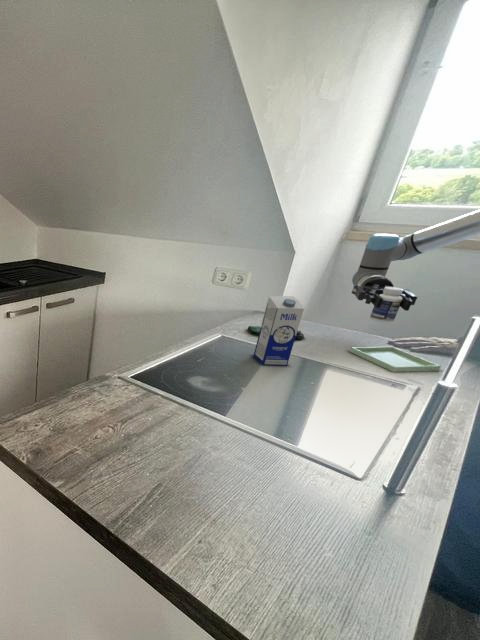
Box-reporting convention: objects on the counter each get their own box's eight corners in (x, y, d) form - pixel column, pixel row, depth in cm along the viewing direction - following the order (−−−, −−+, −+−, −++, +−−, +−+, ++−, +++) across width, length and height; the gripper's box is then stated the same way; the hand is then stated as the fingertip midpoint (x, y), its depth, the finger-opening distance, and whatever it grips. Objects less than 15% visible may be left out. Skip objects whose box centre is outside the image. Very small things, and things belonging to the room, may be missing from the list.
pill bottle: (387, 324, 114) (400, 291, 110) (365, 319, 118) (377, 287, 114) (397, 321, 116) (410, 289, 112) (375, 316, 120) (387, 285, 116)
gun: (254, 334, 139) (247, 325, 147) (253, 337, 139) (246, 328, 148) (307, 338, 134) (298, 328, 142) (306, 342, 134) (297, 332, 143)
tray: (439, 370, 112) (441, 366, 111) (392, 371, 112) (394, 367, 111) (390, 350, 126) (392, 346, 125) (349, 351, 126) (351, 347, 125)
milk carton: (276, 356, 124) (294, 295, 115) (287, 365, 117) (307, 301, 109) (252, 356, 125) (268, 295, 116) (262, 364, 119) (279, 301, 110)
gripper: (408, 301, 125) (433, 321, 107) (335, 295, 134) (347, 313, 116) (417, 278, 122) (445, 295, 104) (343, 273, 131) (356, 288, 113)
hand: (393, 304), depth 110 cm, fingers closed on pill bottle, 5 cm apart
